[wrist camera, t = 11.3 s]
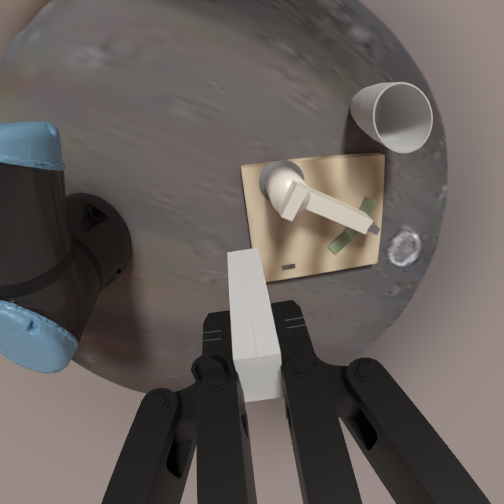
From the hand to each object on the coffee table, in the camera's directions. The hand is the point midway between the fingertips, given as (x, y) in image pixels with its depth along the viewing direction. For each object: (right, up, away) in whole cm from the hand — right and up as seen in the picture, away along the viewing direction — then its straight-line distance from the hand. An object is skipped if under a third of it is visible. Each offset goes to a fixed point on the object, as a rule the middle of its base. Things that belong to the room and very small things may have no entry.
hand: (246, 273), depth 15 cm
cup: (+16, +21, +21) cm, 33 cm away
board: (+10, +6, +28) cm, 30 cm away
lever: (+10, +8, +25) cm, 28 cm away
